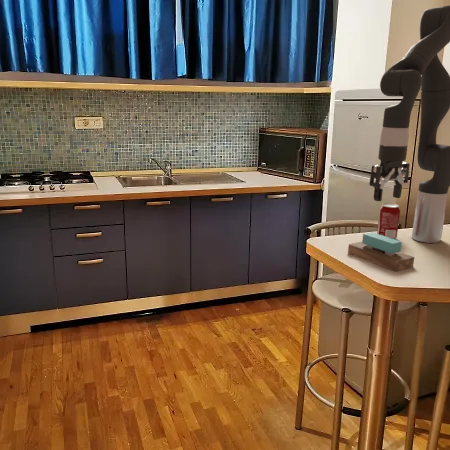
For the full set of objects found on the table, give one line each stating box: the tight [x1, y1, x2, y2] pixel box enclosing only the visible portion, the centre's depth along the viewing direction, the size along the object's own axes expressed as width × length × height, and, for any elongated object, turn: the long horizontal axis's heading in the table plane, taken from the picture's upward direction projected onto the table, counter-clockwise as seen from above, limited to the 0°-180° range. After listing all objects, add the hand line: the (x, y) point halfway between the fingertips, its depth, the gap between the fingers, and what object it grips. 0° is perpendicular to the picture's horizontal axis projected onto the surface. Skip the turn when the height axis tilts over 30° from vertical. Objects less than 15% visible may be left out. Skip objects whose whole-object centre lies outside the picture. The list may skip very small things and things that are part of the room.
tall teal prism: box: [361, 232, 403, 256], centre depth 137 cm, size 4×11×7 cm, turn 33°
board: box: [347, 240, 415, 272], centre depth 137 cm, size 8×18×3 cm, turn 32°
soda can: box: [376, 202, 401, 240], centre depth 158 cm, size 7×7×12 cm
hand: (387, 199), depth 133 cm, fingers open, 8 cm apart
